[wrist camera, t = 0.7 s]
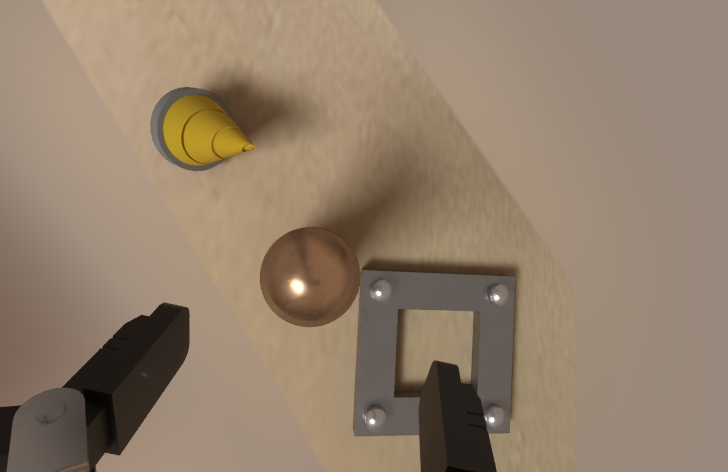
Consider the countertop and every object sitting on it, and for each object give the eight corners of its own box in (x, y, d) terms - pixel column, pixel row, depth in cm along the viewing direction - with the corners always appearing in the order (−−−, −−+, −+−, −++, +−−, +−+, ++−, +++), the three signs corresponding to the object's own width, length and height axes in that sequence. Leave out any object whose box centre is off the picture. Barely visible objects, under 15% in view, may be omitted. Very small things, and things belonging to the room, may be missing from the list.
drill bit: (203, 84, 30) (290, 97, 24) (209, 156, 32) (290, 184, 26) (125, 82, 26) (206, 99, 20) (138, 164, 28) (214, 200, 22)
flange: (360, 269, 31) (365, 270, 29) (507, 275, 32) (520, 277, 30) (352, 428, 30) (356, 441, 28) (501, 426, 32) (514, 437, 30)
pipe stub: (276, 231, 30) (262, 224, 20) (343, 235, 30) (362, 230, 21) (272, 299, 30) (257, 326, 20) (339, 301, 30) (357, 328, 20)
